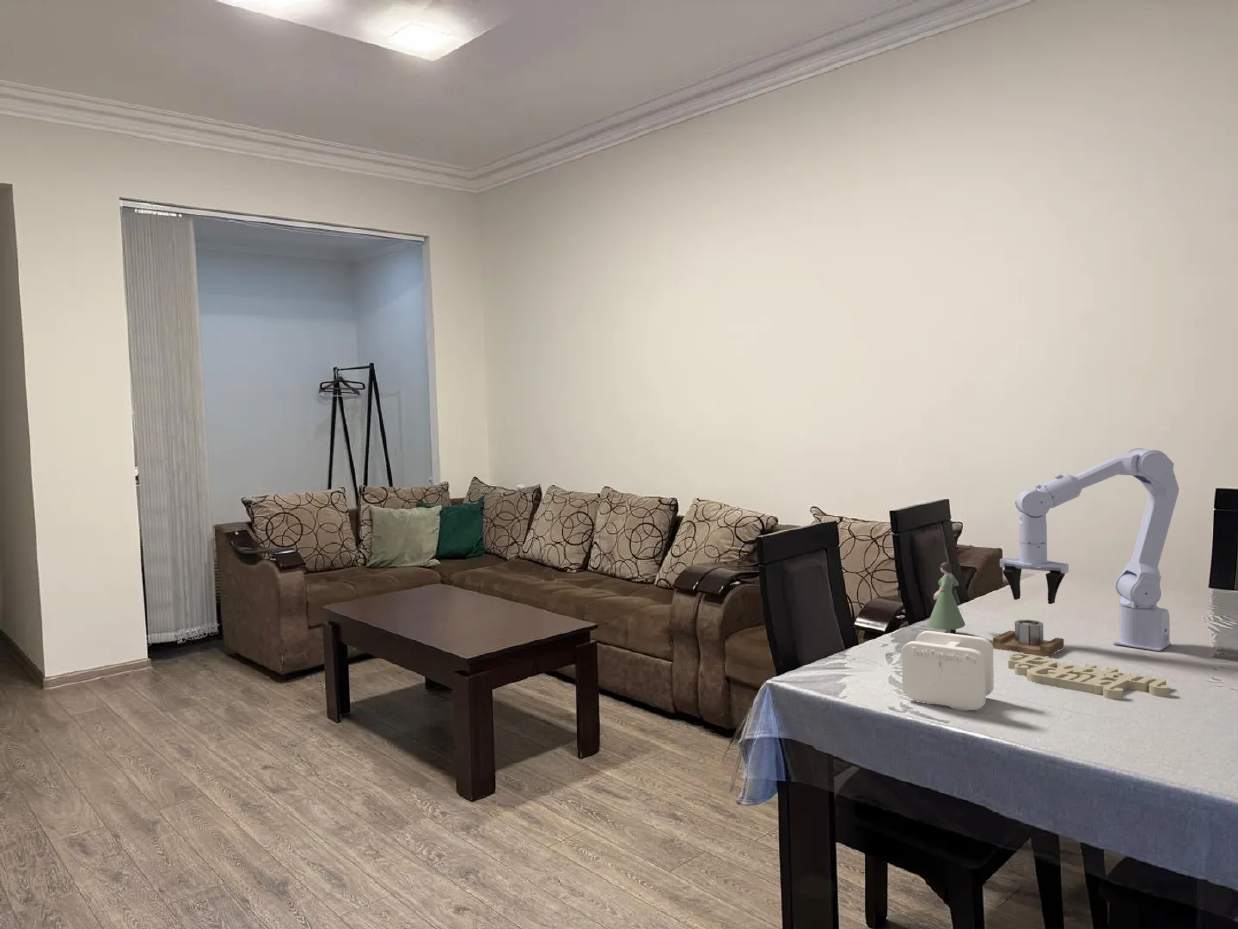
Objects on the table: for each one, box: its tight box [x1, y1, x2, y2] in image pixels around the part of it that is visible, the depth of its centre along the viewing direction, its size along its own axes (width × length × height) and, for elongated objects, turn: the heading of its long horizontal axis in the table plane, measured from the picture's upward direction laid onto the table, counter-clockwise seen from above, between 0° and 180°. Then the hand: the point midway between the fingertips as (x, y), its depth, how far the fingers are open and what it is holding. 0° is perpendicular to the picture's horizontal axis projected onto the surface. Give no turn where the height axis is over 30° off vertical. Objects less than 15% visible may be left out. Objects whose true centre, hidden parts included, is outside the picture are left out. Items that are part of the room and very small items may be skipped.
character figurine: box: [927, 561, 966, 634], centre depth 210 cm, size 16×8×18 cm, turn 136°
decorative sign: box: [1007, 653, 1171, 701], centre depth 173 cm, size 31×2×15 cm
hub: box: [1014, 619, 1044, 646], centre depth 197 cm, size 6×6×4 cm
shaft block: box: [992, 623, 1065, 657], centre depth 197 cm, size 12×9×6 cm
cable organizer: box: [900, 630, 995, 712], centre depth 164 cm, size 15×11×12 cm
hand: (1033, 601), depth 200 cm, fingers open, 7 cm apart
